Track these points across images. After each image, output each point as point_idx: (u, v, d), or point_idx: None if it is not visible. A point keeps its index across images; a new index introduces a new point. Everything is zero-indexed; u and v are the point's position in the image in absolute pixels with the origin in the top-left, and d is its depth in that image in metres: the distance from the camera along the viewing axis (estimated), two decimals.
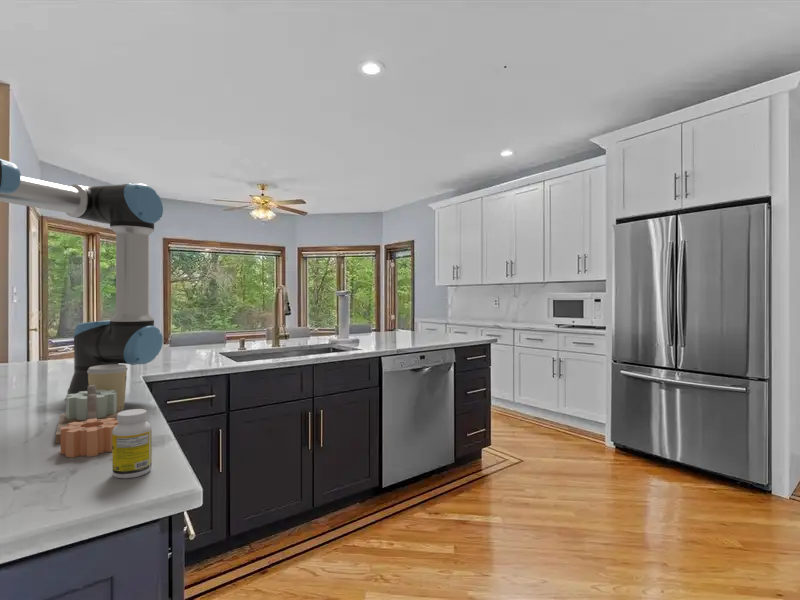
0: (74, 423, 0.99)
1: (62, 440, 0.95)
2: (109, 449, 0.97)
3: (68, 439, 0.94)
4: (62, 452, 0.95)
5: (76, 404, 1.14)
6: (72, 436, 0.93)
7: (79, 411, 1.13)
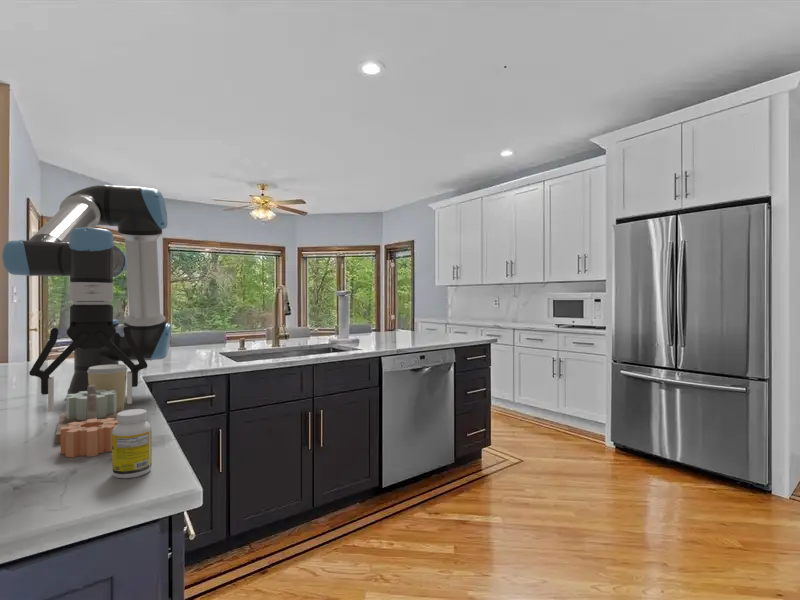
0: (74, 423, 0.99)
1: (62, 440, 0.95)
2: (109, 449, 0.97)
3: (68, 439, 0.94)
4: (62, 452, 0.95)
5: (76, 404, 1.14)
6: (72, 436, 0.93)
7: (79, 411, 1.13)
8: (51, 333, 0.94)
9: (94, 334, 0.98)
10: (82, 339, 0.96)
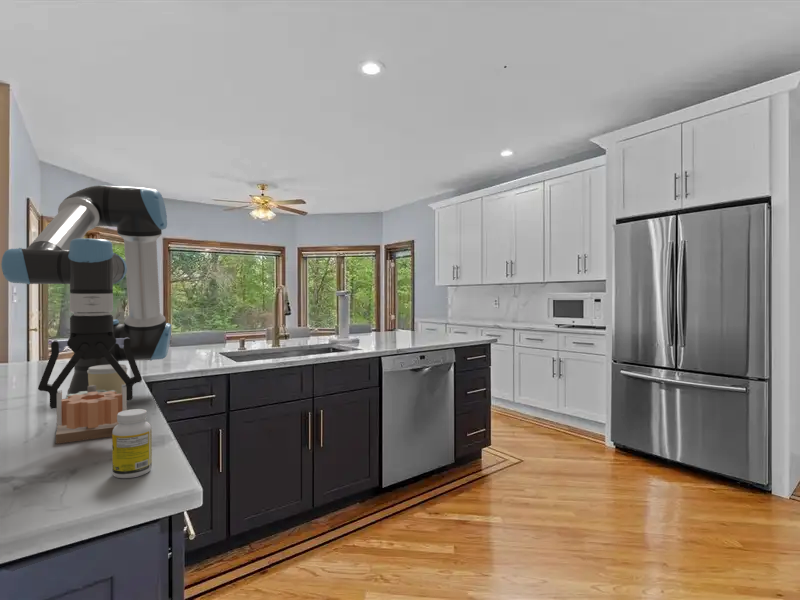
0: (75, 395, 1.00)
1: (63, 412, 0.96)
2: (110, 421, 0.97)
3: (69, 411, 0.94)
4: (63, 424, 0.96)
5: None
6: (73, 408, 0.94)
7: None
8: (52, 347, 0.94)
9: (95, 344, 0.98)
10: (83, 350, 0.96)
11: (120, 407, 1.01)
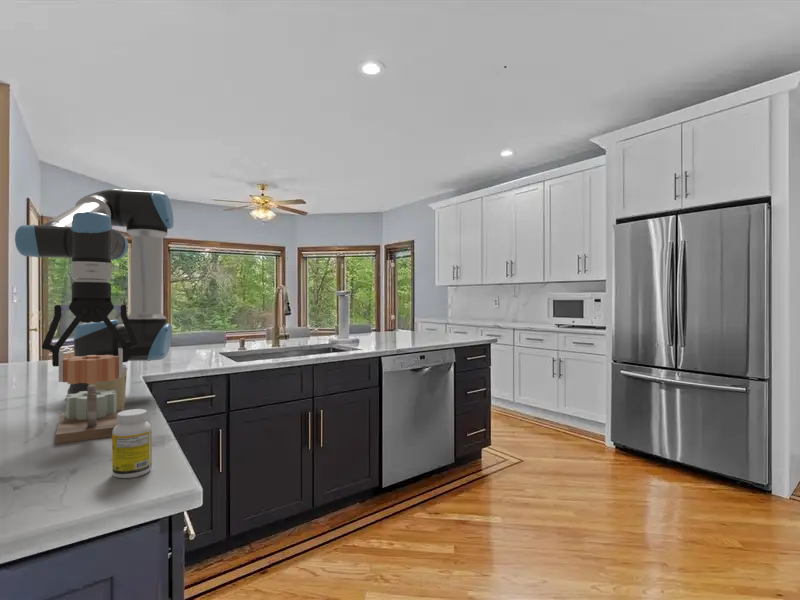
0: (75, 357, 1.09)
1: (64, 369, 1.05)
2: (107, 379, 1.06)
3: (70, 367, 1.03)
4: (64, 380, 1.05)
5: (76, 404, 1.14)
6: (73, 364, 1.03)
7: (79, 411, 1.13)
8: (55, 310, 1.03)
9: (94, 309, 1.07)
10: (83, 313, 1.05)
11: (117, 368, 1.10)
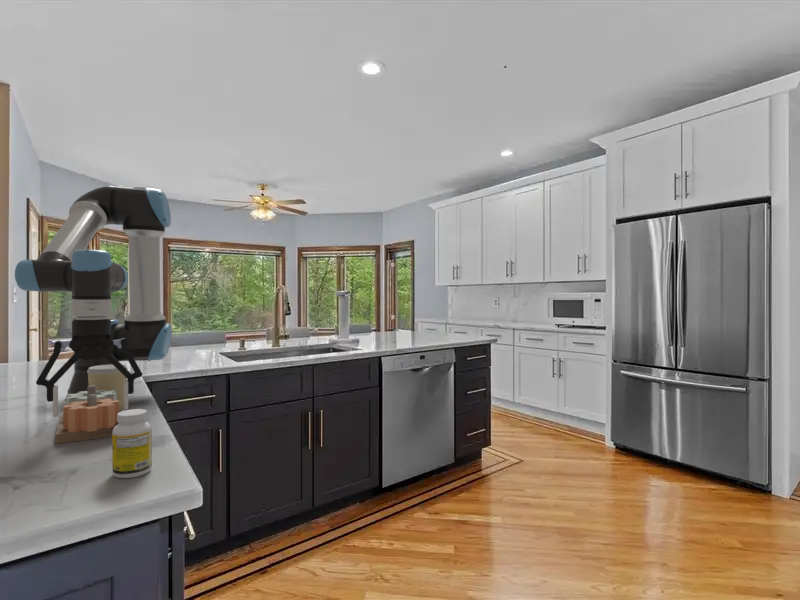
0: (75, 402, 1.09)
1: (64, 417, 1.05)
2: (107, 425, 1.07)
3: (70, 416, 1.03)
4: (64, 428, 1.05)
5: None
6: (74, 413, 1.03)
7: None
8: (55, 346, 1.03)
9: (94, 346, 1.07)
10: (83, 351, 1.06)
11: (117, 413, 1.10)
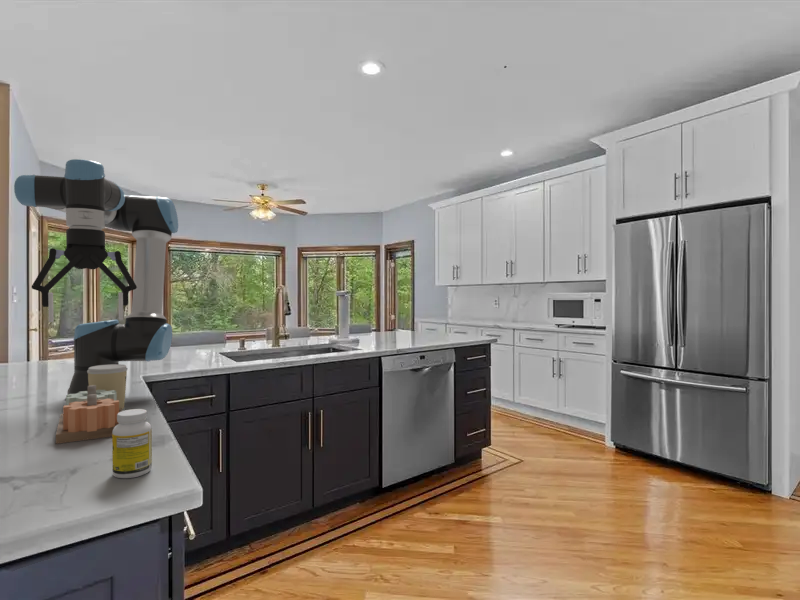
0: (75, 402, 1.09)
1: (64, 417, 1.05)
2: (107, 425, 1.07)
3: (70, 416, 1.03)
4: (64, 428, 1.05)
5: None
6: (74, 413, 1.03)
7: None
8: (50, 253, 1.06)
9: (88, 256, 1.10)
10: (78, 259, 1.08)
11: (117, 413, 1.10)
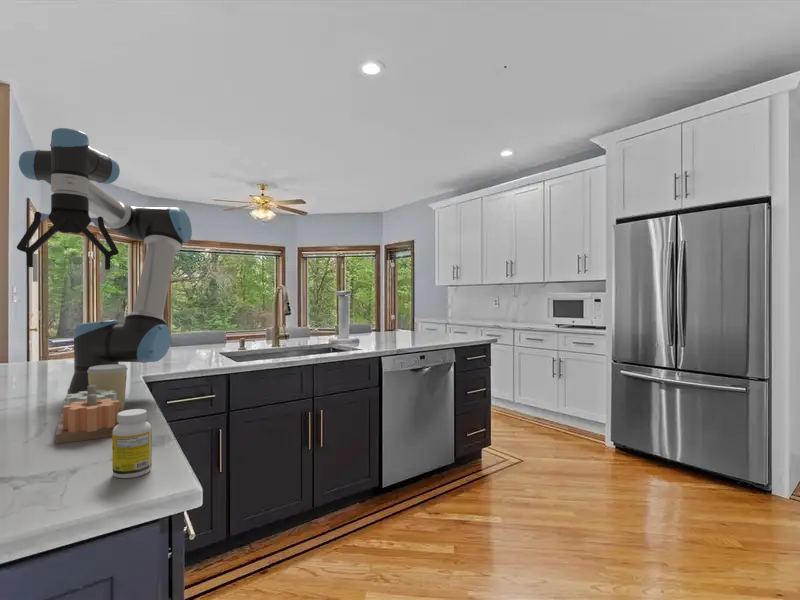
0: (75, 402, 1.09)
1: (64, 417, 1.05)
2: (107, 425, 1.07)
3: (70, 416, 1.03)
4: (64, 428, 1.05)
5: None
6: (74, 413, 1.03)
7: None
8: (35, 215, 1.11)
9: (72, 220, 1.15)
10: (61, 223, 1.13)
11: (117, 413, 1.10)
